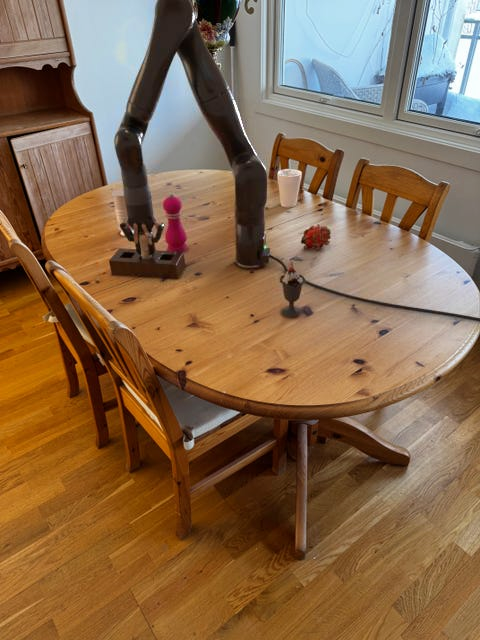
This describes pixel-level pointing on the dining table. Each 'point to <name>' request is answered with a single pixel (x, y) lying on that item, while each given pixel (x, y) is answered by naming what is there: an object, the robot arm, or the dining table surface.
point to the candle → (120, 209)
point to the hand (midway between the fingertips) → (146, 253)
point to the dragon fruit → (316, 237)
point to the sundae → (292, 290)
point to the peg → (144, 245)
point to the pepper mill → (174, 224)
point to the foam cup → (289, 186)
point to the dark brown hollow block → (147, 264)
